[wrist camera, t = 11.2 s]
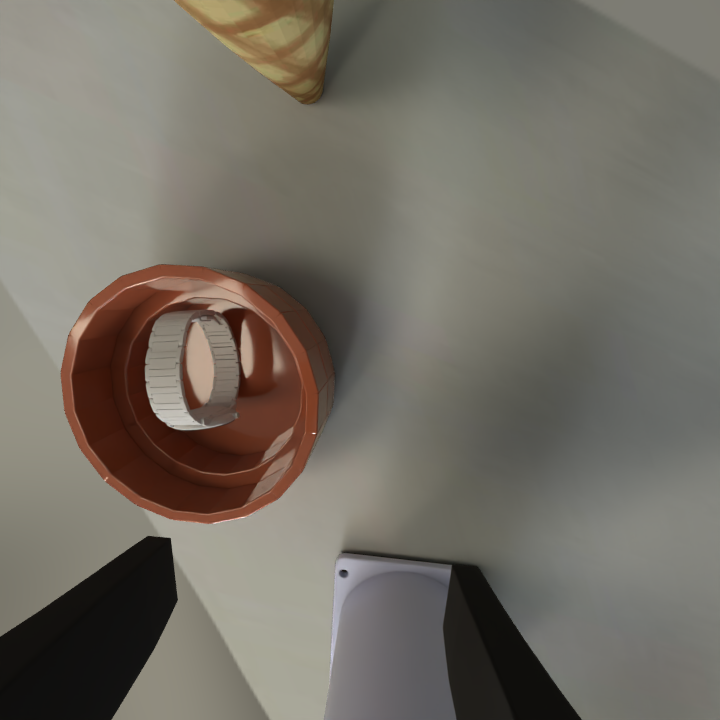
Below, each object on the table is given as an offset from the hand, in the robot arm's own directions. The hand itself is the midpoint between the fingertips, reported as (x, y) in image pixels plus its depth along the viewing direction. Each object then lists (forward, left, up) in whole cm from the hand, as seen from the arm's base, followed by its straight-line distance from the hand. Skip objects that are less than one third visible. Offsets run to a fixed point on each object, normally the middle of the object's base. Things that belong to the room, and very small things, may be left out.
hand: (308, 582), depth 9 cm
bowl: (+3, +6, -10) cm, 12 cm away
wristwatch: (+4, +6, -9) cm, 12 cm away
